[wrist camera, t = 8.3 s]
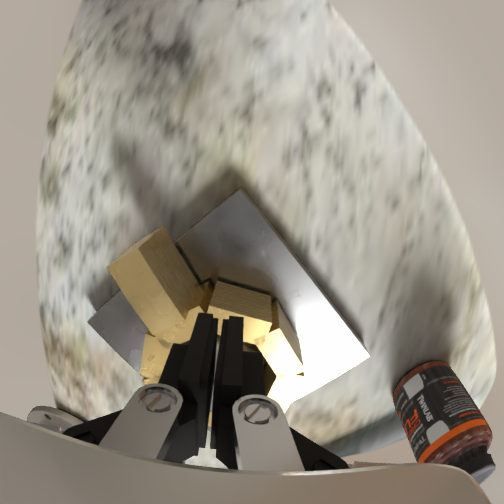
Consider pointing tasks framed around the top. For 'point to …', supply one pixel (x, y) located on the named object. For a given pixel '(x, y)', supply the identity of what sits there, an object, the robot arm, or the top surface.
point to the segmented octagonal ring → (205, 301)
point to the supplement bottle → (443, 420)
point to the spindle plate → (252, 278)
